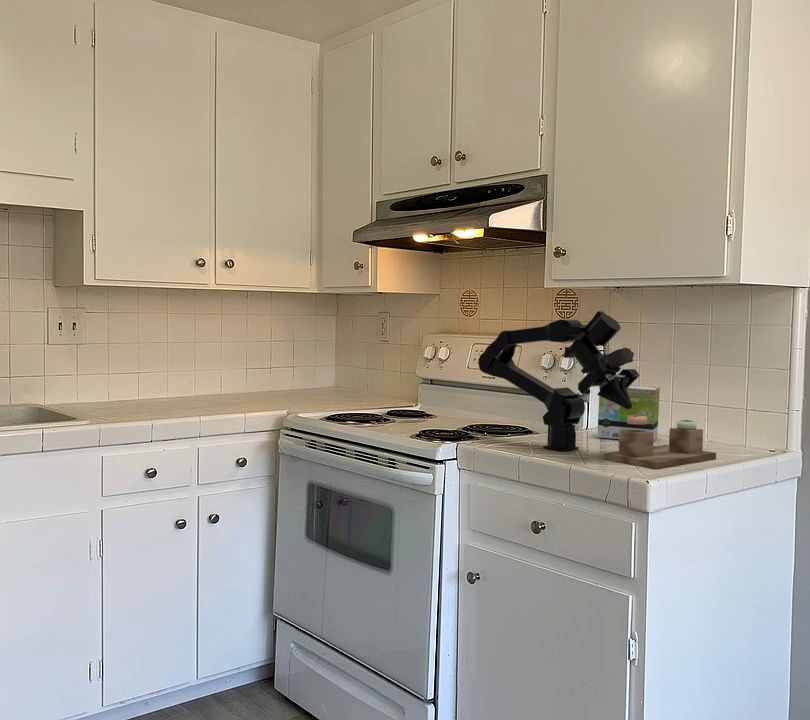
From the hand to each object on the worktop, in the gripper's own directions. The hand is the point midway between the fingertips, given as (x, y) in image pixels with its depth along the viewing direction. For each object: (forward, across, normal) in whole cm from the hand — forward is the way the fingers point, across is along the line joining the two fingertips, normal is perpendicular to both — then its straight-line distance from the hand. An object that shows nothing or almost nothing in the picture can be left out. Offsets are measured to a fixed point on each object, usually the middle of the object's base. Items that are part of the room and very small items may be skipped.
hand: (630, 408), depth 187 cm
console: (+12, +7, +6) cm, 15 cm away
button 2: (+9, +13, -1) cm, 16 cm away
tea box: (-4, +30, +22) cm, 37 cm away
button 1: (+4, 0, +1) cm, 4 cm away
